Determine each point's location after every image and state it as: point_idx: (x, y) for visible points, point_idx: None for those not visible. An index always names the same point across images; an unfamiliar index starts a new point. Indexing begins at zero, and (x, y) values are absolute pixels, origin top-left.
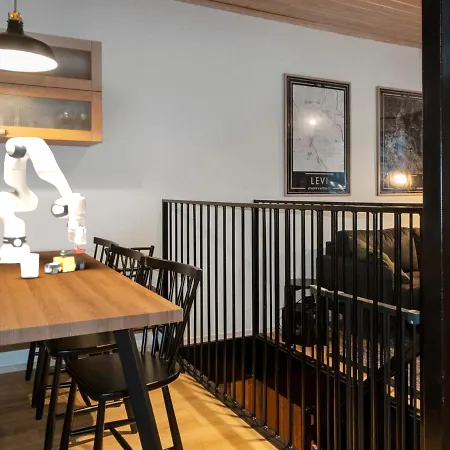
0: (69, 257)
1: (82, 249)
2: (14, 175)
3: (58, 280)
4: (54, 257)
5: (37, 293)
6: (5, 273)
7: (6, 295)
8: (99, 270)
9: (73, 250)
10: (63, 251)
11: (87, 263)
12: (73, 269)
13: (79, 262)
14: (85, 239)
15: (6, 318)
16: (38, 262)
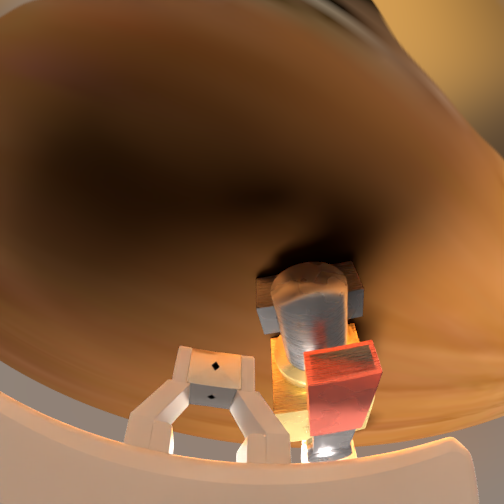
0: (370, 411)
1: (374, 394)
2: None
3: (445, 391)
4: (293, 441)
5: (472, 412)
6: (203, 437)
7: (438, 434)
8: (473, 228)
9: (332, 430)
10: (340, 457)
11: (72, 98)
12: (355, 332)
13: (346, 320)
14: (468, 478)
15: (493, 419)
16: (349, 457)
